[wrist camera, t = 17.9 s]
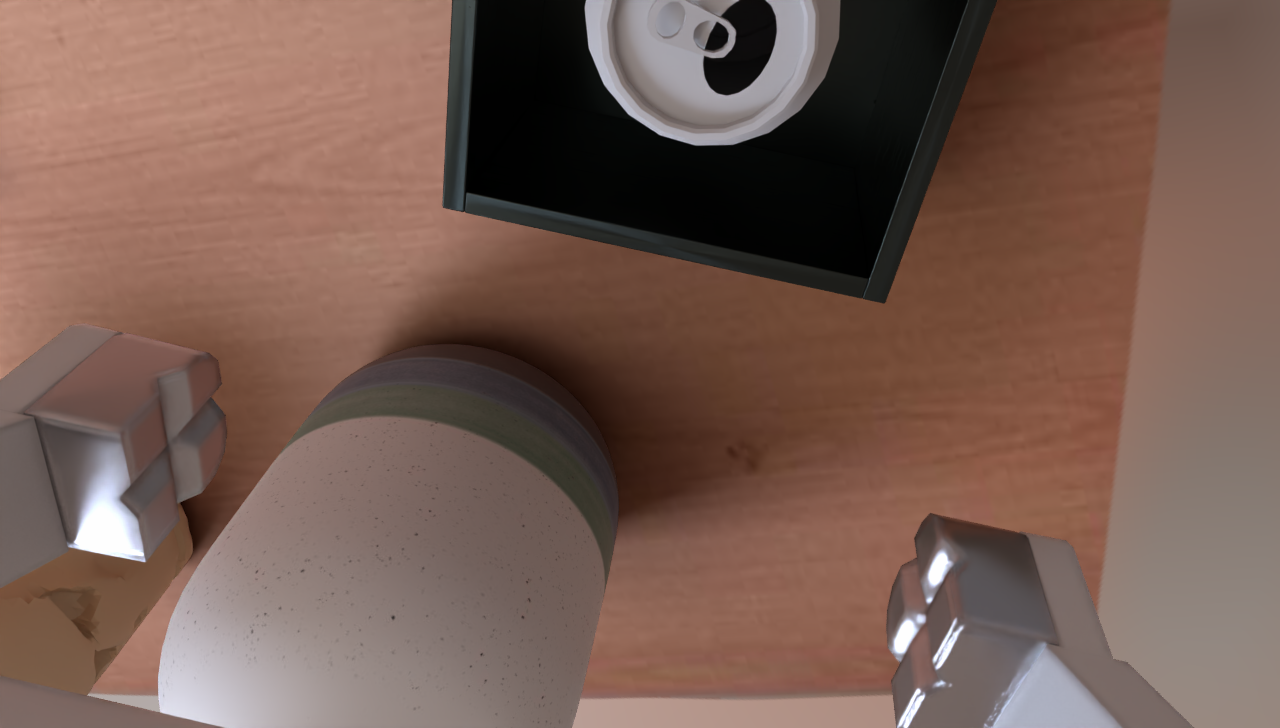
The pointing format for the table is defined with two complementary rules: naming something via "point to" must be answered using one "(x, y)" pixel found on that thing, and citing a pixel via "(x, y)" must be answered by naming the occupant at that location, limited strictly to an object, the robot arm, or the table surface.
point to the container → (83, 611)
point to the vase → (408, 559)
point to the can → (712, 62)
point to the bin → (711, 174)
